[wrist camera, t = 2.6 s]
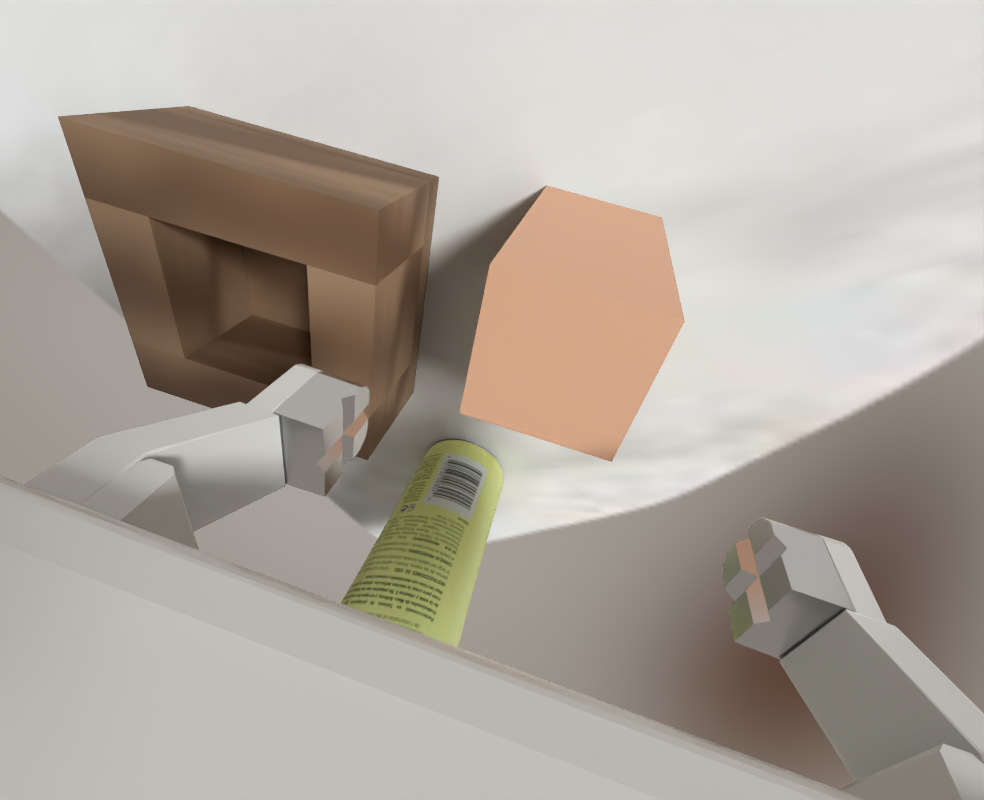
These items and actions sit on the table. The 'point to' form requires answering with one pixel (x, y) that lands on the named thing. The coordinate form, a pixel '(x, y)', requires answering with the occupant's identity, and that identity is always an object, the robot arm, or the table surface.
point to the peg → (574, 323)
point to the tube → (432, 544)
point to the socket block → (257, 254)
